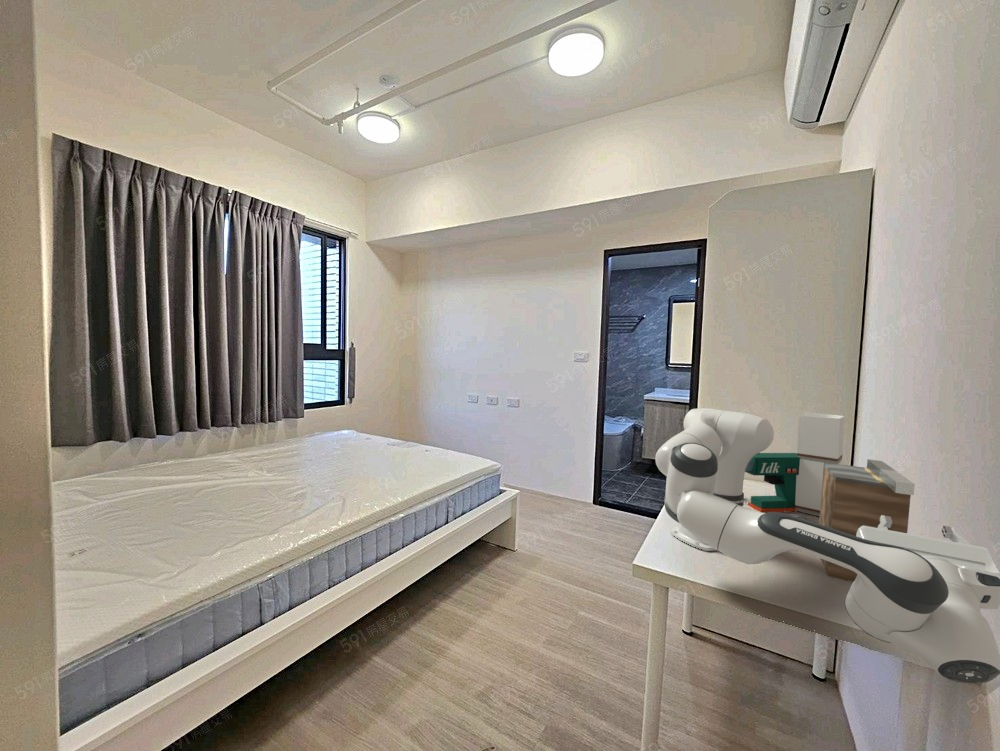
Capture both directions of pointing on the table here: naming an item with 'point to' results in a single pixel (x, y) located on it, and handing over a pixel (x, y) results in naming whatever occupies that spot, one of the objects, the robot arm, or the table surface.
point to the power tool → (775, 480)
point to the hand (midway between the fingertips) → (915, 522)
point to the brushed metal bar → (890, 477)
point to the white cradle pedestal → (816, 456)
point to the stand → (858, 506)
